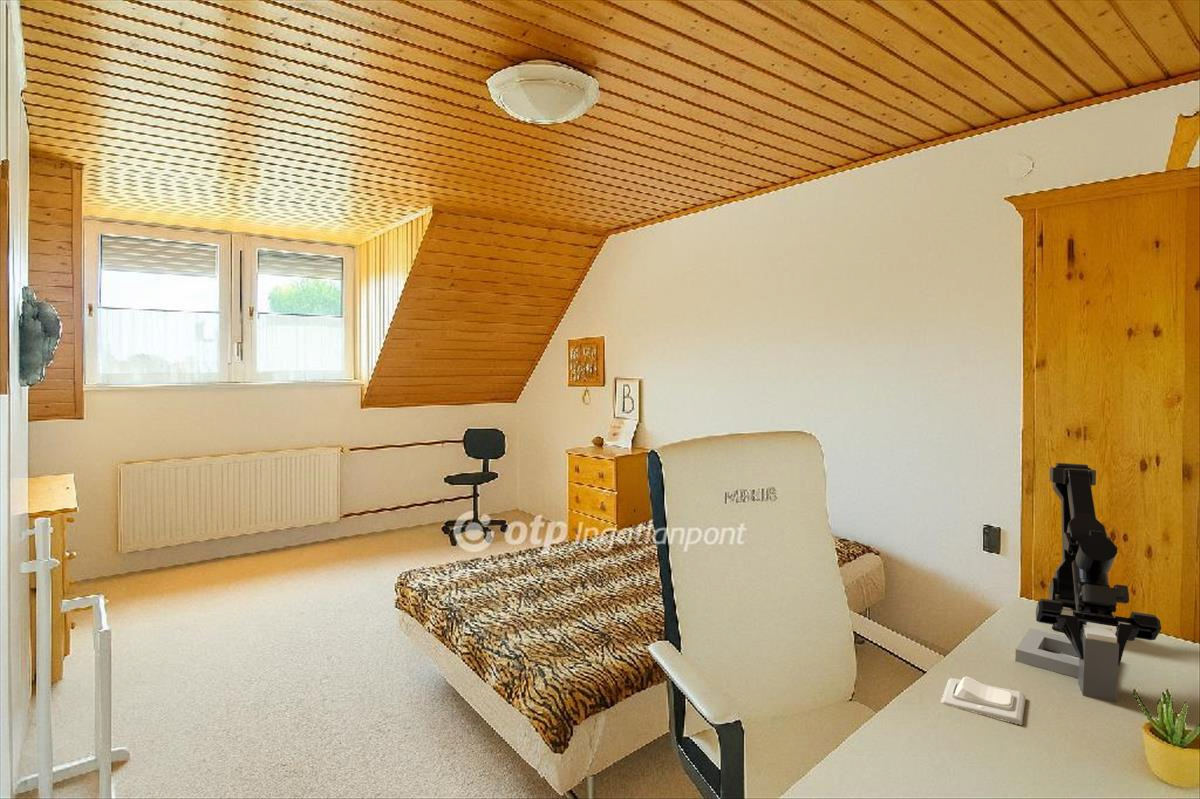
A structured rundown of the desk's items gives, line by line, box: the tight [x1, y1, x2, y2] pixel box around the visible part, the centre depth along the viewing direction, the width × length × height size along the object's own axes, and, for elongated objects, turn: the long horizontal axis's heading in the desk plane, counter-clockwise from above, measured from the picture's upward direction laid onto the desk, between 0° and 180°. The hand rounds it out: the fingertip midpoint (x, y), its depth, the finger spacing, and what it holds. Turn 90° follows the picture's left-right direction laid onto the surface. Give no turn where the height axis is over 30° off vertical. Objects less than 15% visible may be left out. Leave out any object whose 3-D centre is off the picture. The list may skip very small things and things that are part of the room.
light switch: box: [940, 675, 1026, 726], centre depth 118 cm, size 11×4×13 cm
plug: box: [1077, 624, 1119, 703], centre depth 120 cm, size 5×5×12 cm
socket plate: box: [1014, 627, 1079, 679], centre depth 133 cm, size 14×14×3 cm
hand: (1099, 661), depth 119 cm, fingers closed on plug, 5 cm apart
